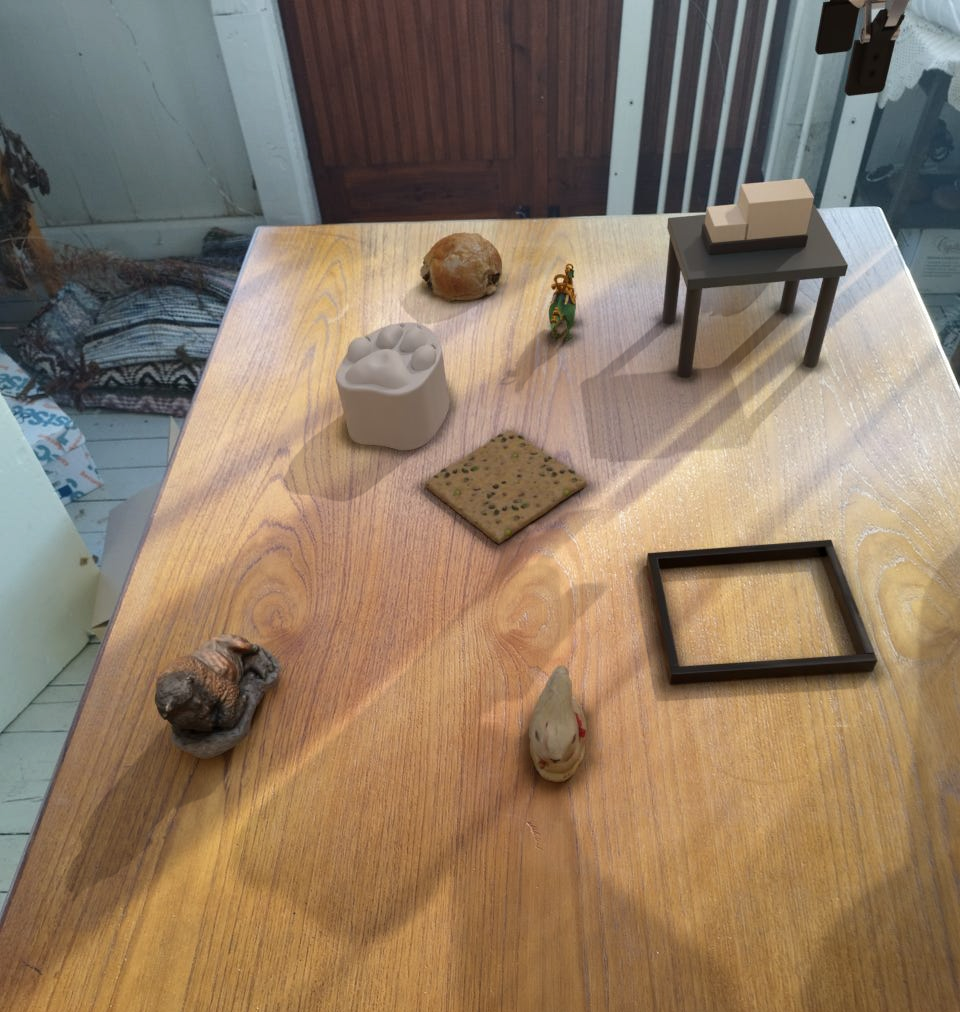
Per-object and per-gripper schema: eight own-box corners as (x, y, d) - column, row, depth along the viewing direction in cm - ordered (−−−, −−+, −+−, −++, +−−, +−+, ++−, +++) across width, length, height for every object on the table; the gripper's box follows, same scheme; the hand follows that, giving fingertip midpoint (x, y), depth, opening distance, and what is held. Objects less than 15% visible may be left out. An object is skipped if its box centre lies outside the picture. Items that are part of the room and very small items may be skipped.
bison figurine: (224, 654, 78) (185, 579, 70) (297, 663, 77) (266, 587, 69) (169, 769, 71) (119, 700, 63) (249, 781, 70) (208, 712, 62)
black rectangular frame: (827, 550, 80) (831, 539, 79) (873, 671, 71) (878, 660, 70) (646, 563, 81) (647, 552, 80) (669, 684, 72) (671, 674, 71)
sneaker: (795, 225, 93) (805, 177, 89) (806, 246, 90) (816, 197, 86) (701, 234, 93) (706, 186, 90) (708, 255, 91) (715, 207, 87)
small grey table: (792, 304, 105) (814, 204, 95) (821, 367, 97) (848, 265, 87) (659, 315, 106) (668, 217, 96) (676, 379, 98) (688, 279, 88)
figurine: (583, 309, 108) (584, 245, 101) (565, 366, 101) (565, 301, 94) (559, 307, 108) (558, 244, 102) (539, 364, 101) (537, 299, 95)
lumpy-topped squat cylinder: (337, 440, 96) (320, 373, 89) (381, 371, 103) (368, 304, 96) (425, 454, 93) (414, 385, 86) (464, 382, 101) (456, 313, 94)
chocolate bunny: (502, 766, 69) (494, 694, 61) (553, 695, 73) (551, 619, 65) (563, 798, 67) (562, 728, 59) (612, 724, 70) (617, 649, 63)
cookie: (422, 486, 90) (421, 479, 89) (510, 432, 94) (510, 425, 93) (498, 545, 84) (497, 538, 83) (588, 485, 88) (588, 477, 87)
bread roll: (473, 332, 113) (494, 283, 106) (404, 291, 112) (420, 239, 106) (500, 291, 118) (521, 242, 112) (434, 253, 118) (452, 201, 111)
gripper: (998, -175, 58) (923, 105, 72) (914, -217, 69) (862, 33, 82) (884, -160, 59) (830, 116, 72) (818, -204, 70) (781, 42, 83)
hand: (847, 71), depth 77 cm, fingers open, 9 cm apart
